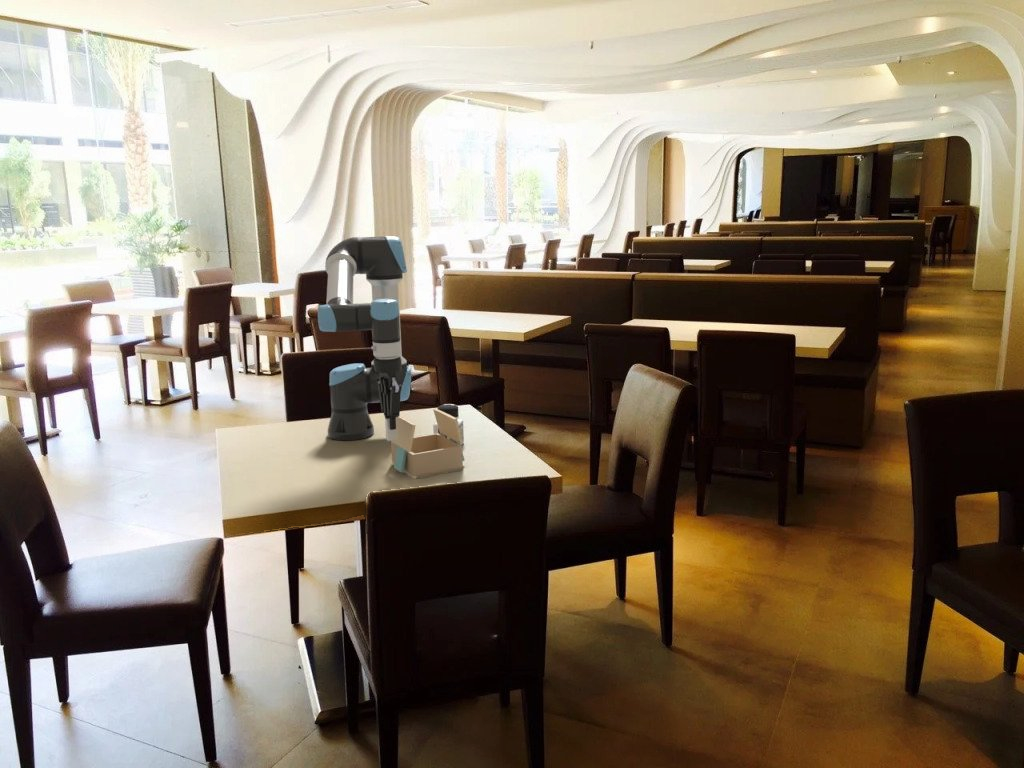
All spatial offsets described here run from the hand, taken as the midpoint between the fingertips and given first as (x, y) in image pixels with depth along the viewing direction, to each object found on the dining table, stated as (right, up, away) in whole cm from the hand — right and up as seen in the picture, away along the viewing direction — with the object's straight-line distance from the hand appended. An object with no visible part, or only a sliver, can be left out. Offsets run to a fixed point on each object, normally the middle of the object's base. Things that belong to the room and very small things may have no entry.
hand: (391, 439), depth 228 cm
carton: (+9, -8, +9) cm, 15 cm away
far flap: (+16, 0, +11) cm, 19 cm away
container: (+14, -4, +30) cm, 33 cm away
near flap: (+2, -2, +3) cm, 4 cm away
